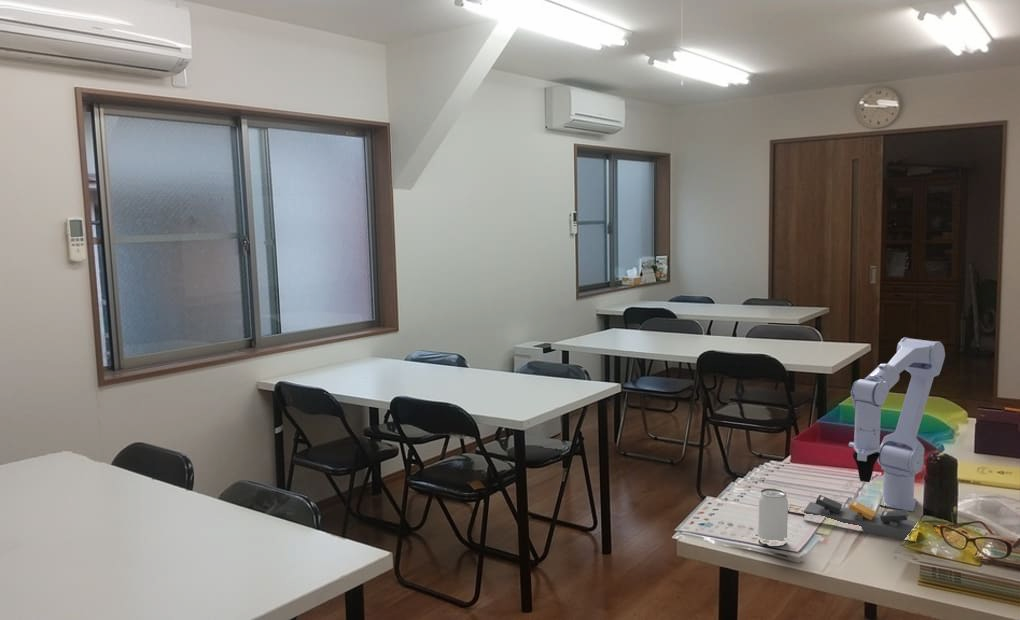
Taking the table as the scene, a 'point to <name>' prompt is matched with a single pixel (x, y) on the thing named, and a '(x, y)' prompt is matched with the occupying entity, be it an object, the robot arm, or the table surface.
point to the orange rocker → (861, 510)
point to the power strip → (865, 521)
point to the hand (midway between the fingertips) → (865, 481)
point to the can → (772, 514)
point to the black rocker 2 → (894, 515)
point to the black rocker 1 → (828, 504)
